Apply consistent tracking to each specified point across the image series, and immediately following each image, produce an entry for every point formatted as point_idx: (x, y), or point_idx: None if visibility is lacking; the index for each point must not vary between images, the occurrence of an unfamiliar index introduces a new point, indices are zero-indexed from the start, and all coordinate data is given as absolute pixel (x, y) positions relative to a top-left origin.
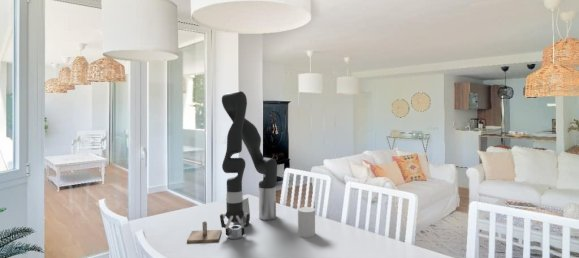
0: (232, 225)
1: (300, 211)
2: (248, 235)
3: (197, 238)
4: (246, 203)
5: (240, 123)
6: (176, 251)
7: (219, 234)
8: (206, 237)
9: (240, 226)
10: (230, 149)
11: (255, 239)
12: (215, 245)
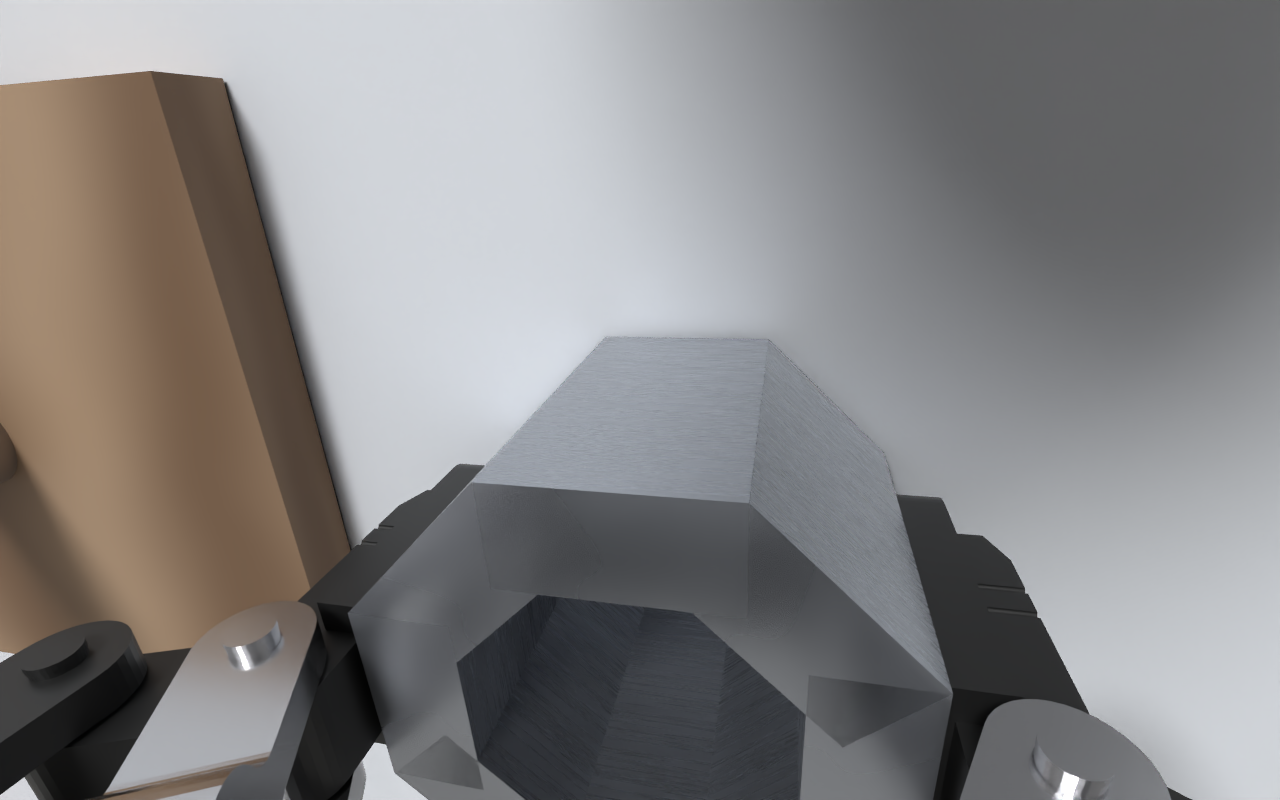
0: (460, 512)
1: None
2: (1116, 455)
3: None
4: None
5: None
6: (6, 792)
7: (262, 468)
8: (86, 579)
9: (881, 724)
10: None
11: (1271, 757)
12: (384, 779)
